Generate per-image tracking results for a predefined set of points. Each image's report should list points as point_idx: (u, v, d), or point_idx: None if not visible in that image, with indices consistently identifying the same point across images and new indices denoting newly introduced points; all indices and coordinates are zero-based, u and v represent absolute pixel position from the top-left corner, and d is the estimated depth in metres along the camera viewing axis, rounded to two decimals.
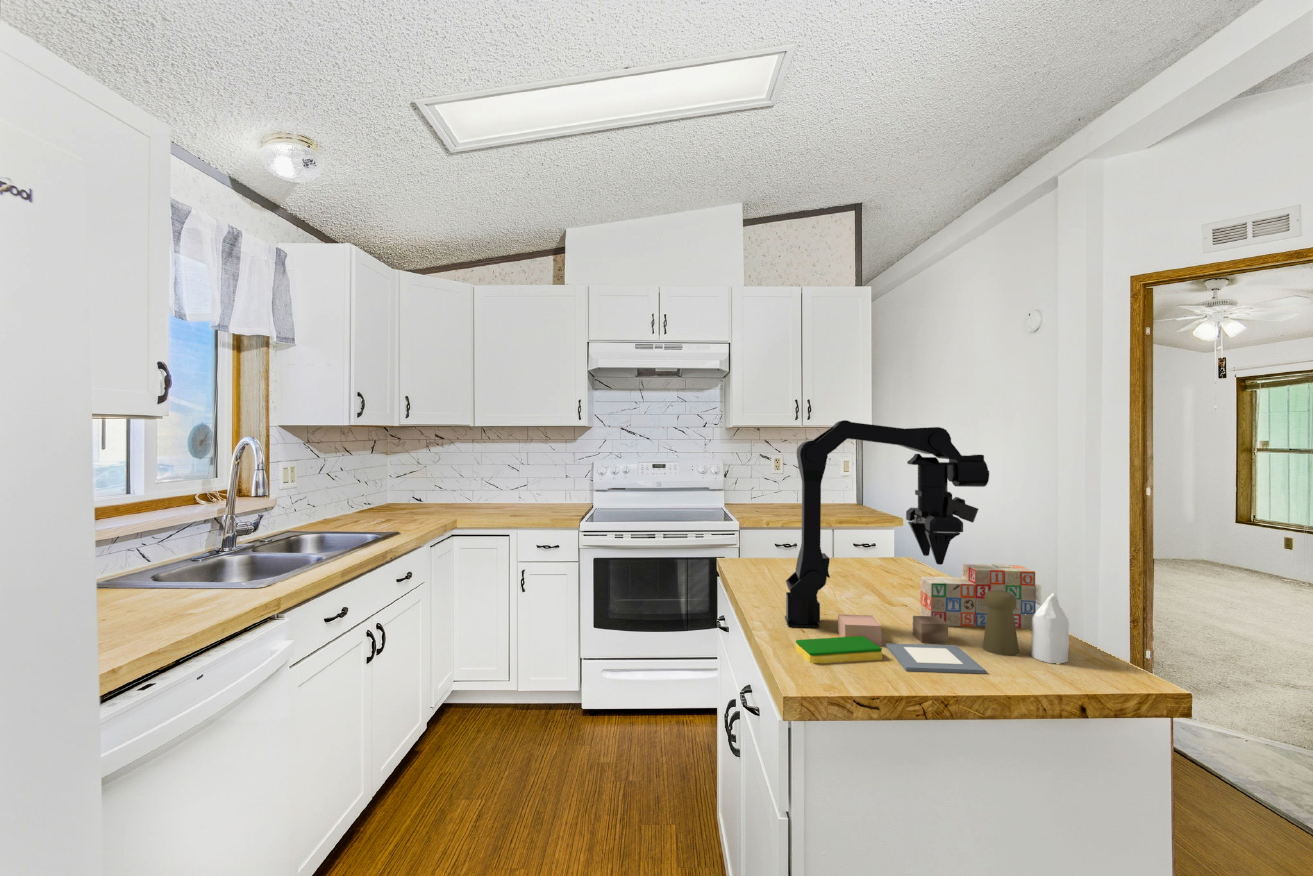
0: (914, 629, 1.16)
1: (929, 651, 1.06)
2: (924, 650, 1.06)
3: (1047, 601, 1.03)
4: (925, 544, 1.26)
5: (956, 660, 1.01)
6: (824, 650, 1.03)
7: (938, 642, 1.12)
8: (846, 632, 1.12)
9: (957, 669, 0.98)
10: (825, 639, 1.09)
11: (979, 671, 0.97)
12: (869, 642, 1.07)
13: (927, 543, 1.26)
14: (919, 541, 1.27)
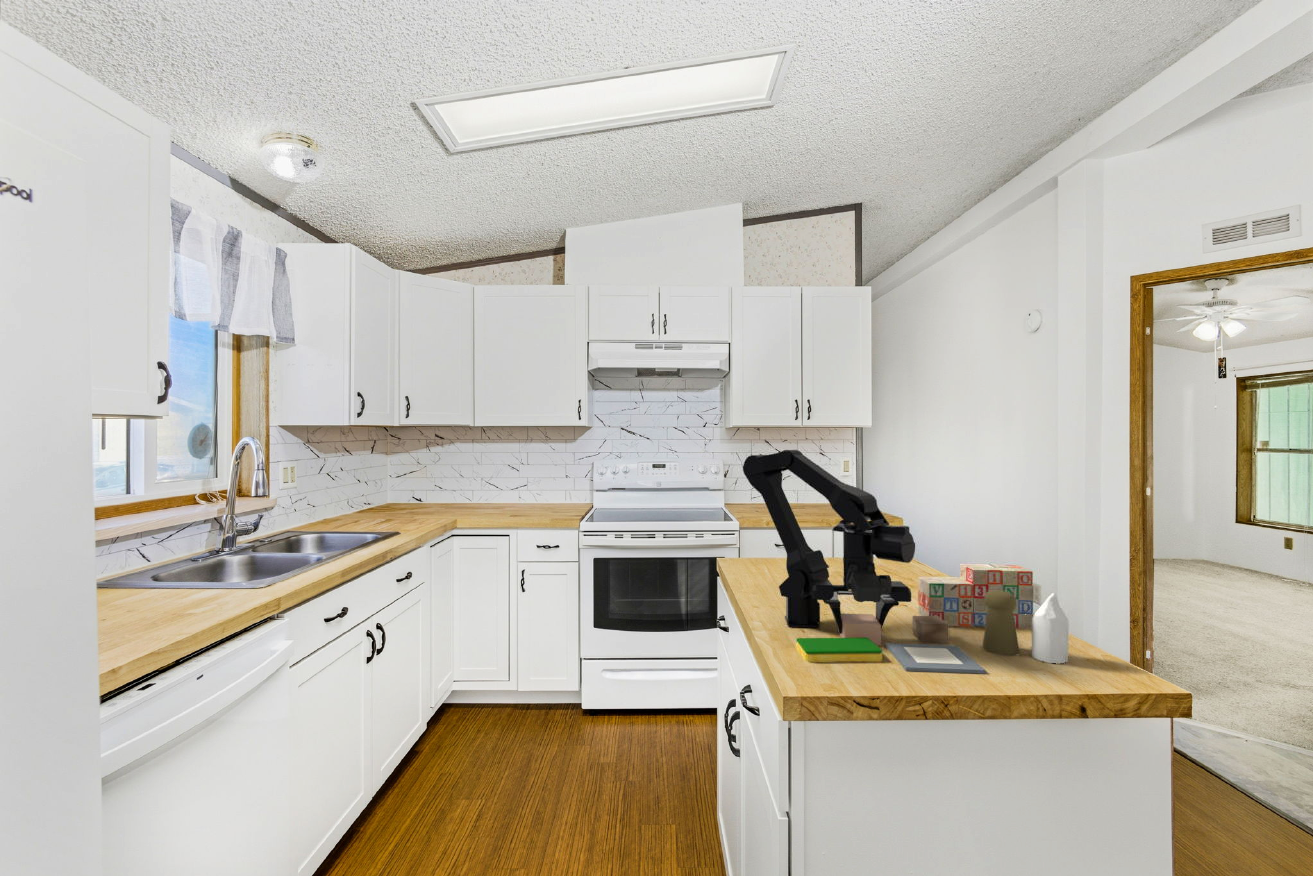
0: (914, 629, 1.16)
1: (929, 651, 1.06)
2: (924, 650, 1.06)
3: (1047, 601, 1.03)
4: None
5: (956, 660, 1.01)
6: (821, 649, 1.04)
7: (938, 642, 1.12)
8: (846, 631, 1.12)
9: (957, 669, 0.98)
10: (827, 639, 1.09)
11: (979, 671, 0.97)
12: (871, 644, 1.06)
13: (877, 620, 1.14)
14: None
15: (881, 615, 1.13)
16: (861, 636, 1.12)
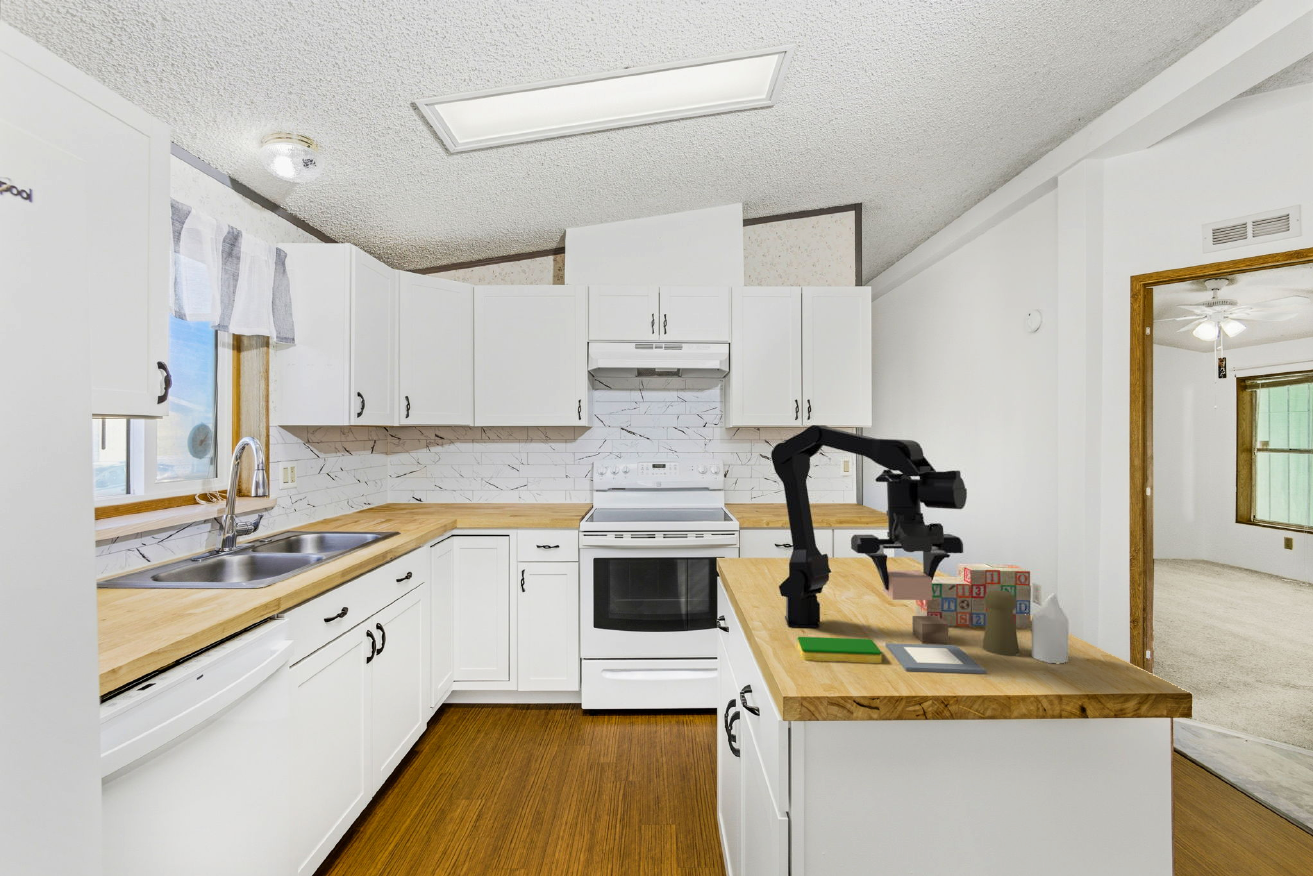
0: (914, 629, 1.16)
1: (929, 651, 1.06)
2: (924, 650, 1.06)
3: (1047, 601, 1.03)
4: None
5: (956, 660, 1.01)
6: (818, 648, 1.04)
7: (938, 642, 1.12)
8: (893, 585, 1.05)
9: (957, 669, 0.98)
10: (828, 639, 1.09)
11: (979, 671, 0.97)
12: (872, 645, 1.05)
13: None
14: (923, 571, 1.09)
15: (930, 569, 1.06)
16: (910, 590, 1.04)
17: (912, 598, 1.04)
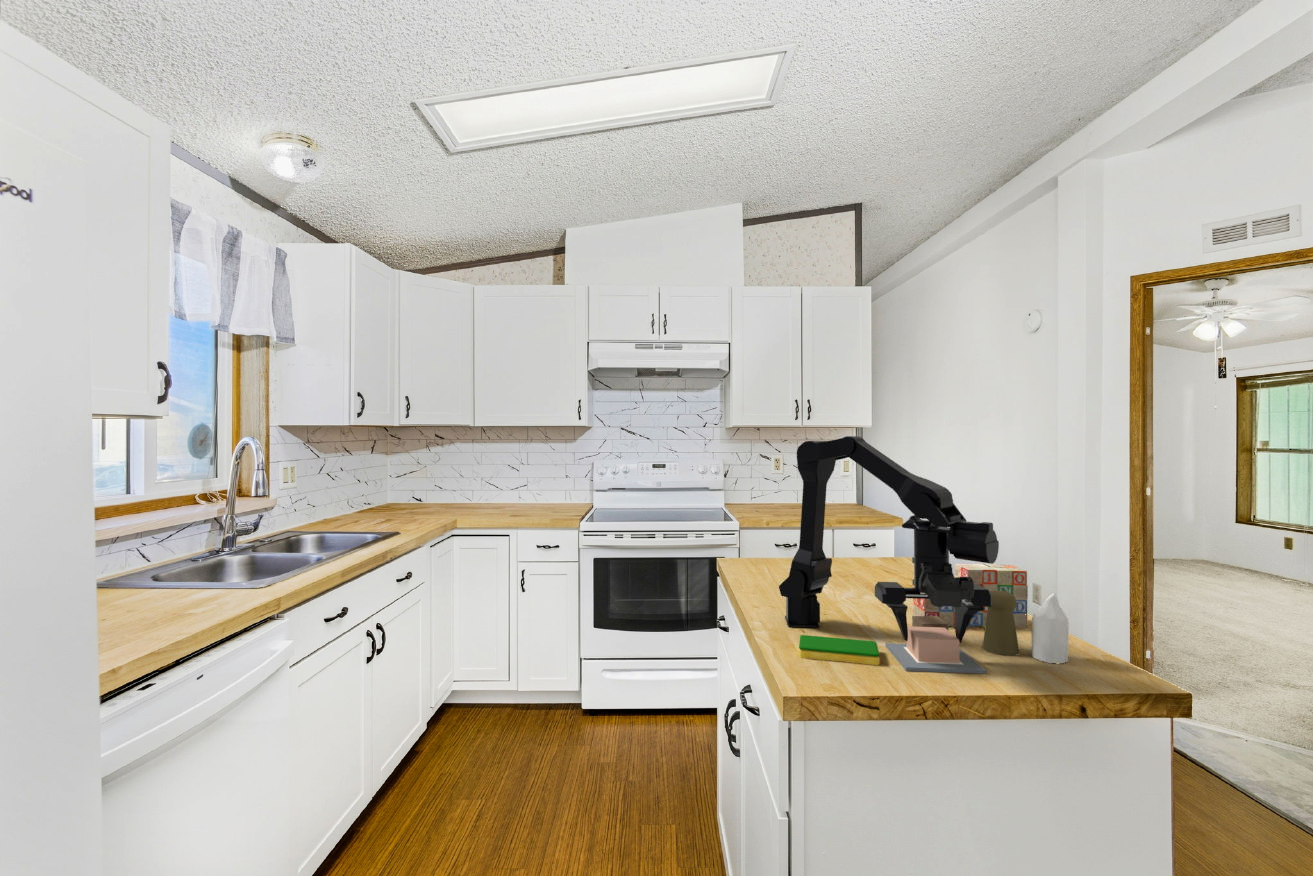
0: None
1: None
2: None
3: (1047, 601, 1.03)
4: (958, 628, 1.04)
5: None
6: (815, 646, 1.05)
7: None
8: (920, 647, 1.01)
9: (957, 669, 0.98)
10: (830, 638, 1.09)
11: (979, 671, 0.97)
12: (872, 647, 1.04)
13: (959, 627, 1.03)
14: (955, 622, 1.05)
15: (963, 621, 1.02)
16: (937, 653, 1.01)
17: (939, 660, 1.00)
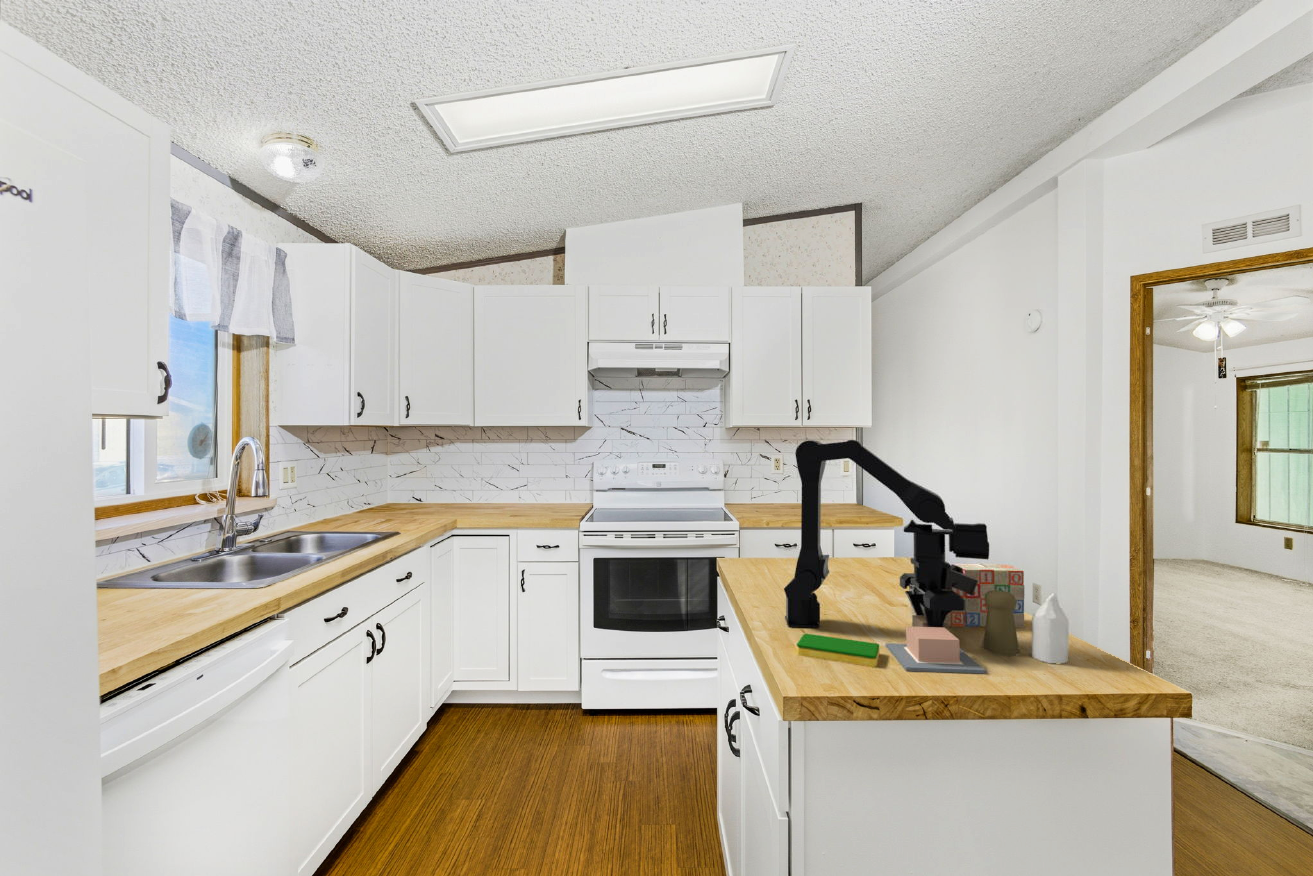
0: None
1: None
2: None
3: (1047, 601, 1.03)
4: None
5: None
6: (813, 645, 1.06)
7: None
8: (920, 647, 1.01)
9: (957, 669, 0.98)
10: (833, 638, 1.09)
11: (979, 671, 0.97)
12: (872, 649, 1.03)
13: None
14: (918, 614, 1.17)
15: None
16: (937, 653, 1.01)
17: (939, 660, 1.00)
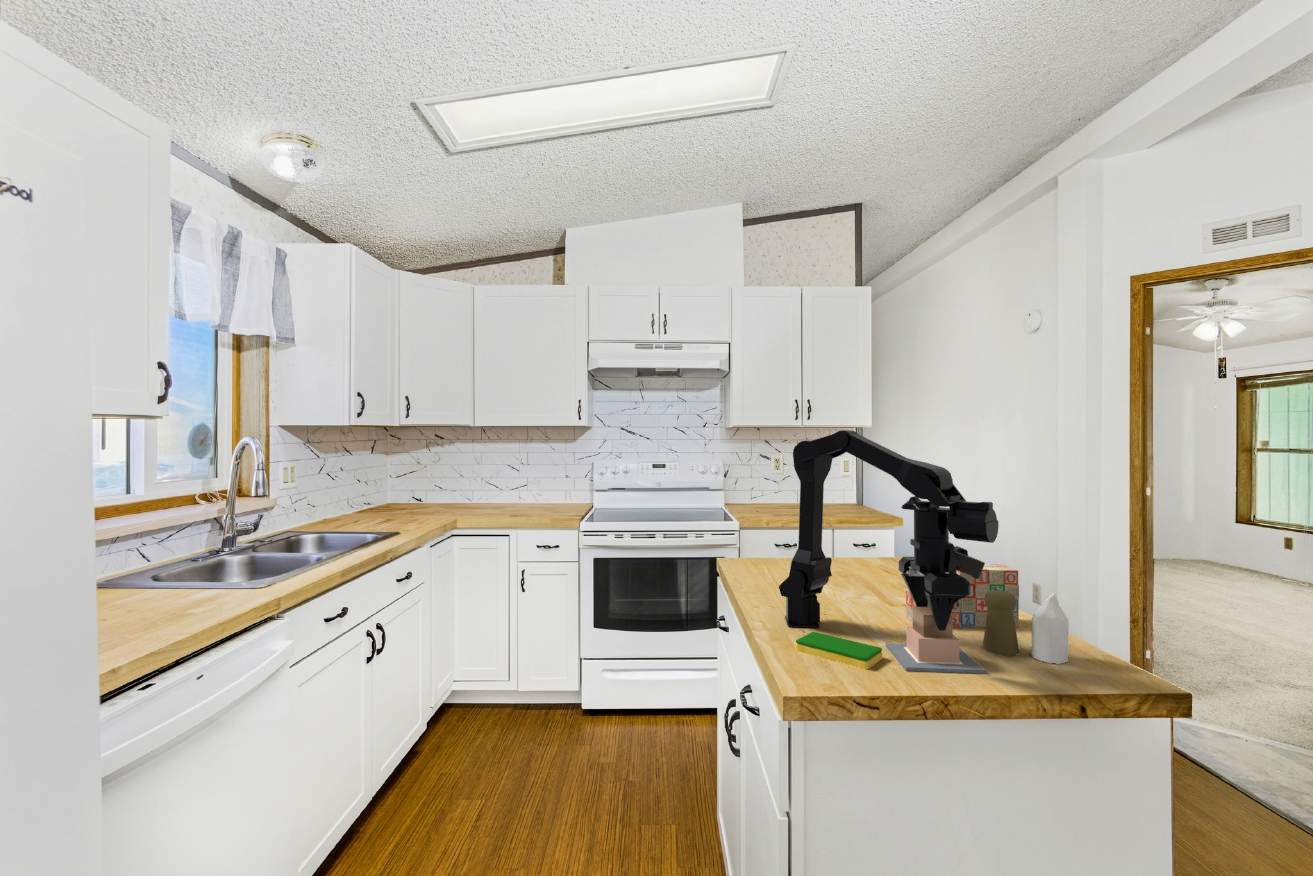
0: (914, 621, 1.06)
1: None
2: None
3: (1047, 601, 1.03)
4: (921, 601, 1.09)
5: None
6: (811, 642, 1.07)
7: (941, 635, 1.01)
8: (920, 647, 1.01)
9: (957, 669, 0.98)
10: (837, 638, 1.09)
11: (979, 671, 0.97)
12: (869, 652, 1.02)
13: (924, 600, 1.08)
14: (915, 597, 1.09)
15: None
16: (937, 653, 1.01)
17: (939, 660, 1.00)
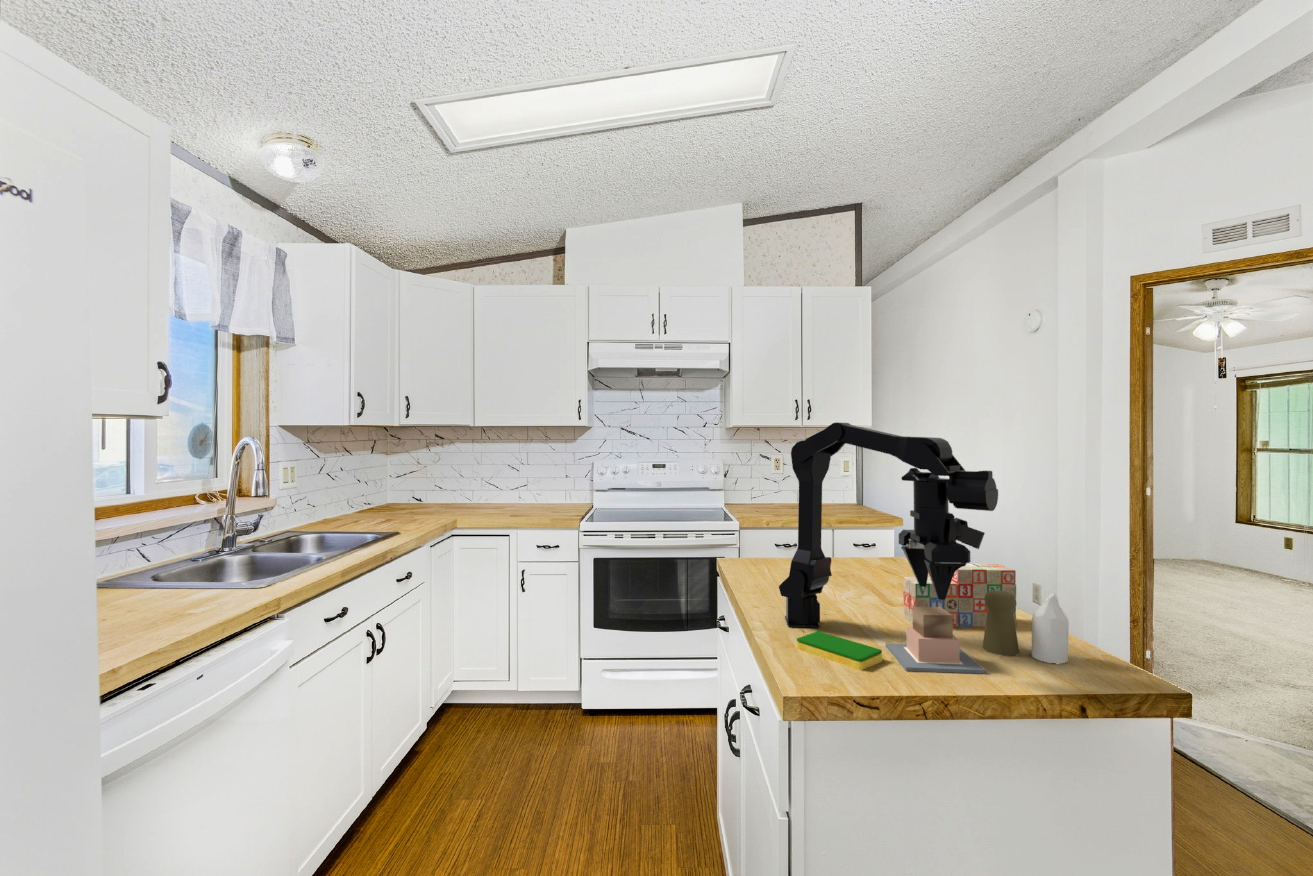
0: (914, 621, 1.06)
1: None
2: None
3: (1047, 601, 1.03)
4: (921, 573, 1.09)
5: None
6: (811, 641, 1.08)
7: (941, 635, 1.01)
8: (920, 647, 1.01)
9: (957, 669, 0.98)
10: (839, 639, 1.09)
11: (979, 671, 0.97)
12: (866, 653, 1.02)
13: (924, 572, 1.08)
14: (915, 569, 1.09)
15: None
16: (937, 653, 1.01)
17: (939, 660, 1.00)
